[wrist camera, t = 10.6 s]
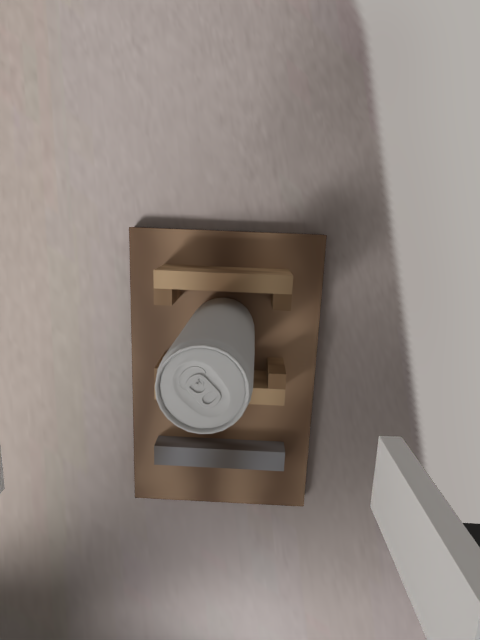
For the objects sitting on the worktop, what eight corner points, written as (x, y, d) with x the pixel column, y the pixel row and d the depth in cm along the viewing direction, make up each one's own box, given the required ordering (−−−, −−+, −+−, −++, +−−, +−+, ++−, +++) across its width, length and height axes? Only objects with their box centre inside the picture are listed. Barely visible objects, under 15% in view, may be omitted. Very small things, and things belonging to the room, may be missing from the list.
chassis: (138, 488, 37) (122, 527, 32) (133, 226, 32) (113, 228, 27) (301, 497, 37) (308, 537, 32) (323, 234, 31) (336, 237, 27)
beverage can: (226, 282, 31) (205, 321, 19) (269, 331, 32) (273, 397, 20) (178, 324, 32) (130, 384, 20) (220, 370, 33) (198, 455, 21)
